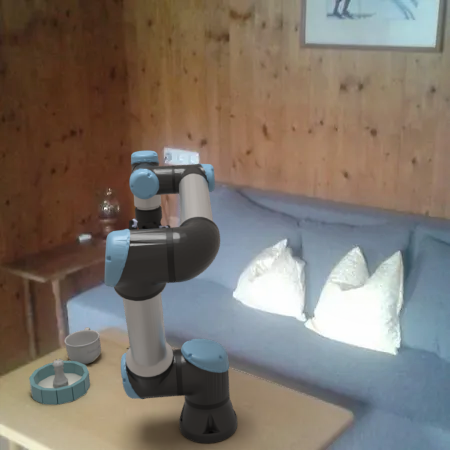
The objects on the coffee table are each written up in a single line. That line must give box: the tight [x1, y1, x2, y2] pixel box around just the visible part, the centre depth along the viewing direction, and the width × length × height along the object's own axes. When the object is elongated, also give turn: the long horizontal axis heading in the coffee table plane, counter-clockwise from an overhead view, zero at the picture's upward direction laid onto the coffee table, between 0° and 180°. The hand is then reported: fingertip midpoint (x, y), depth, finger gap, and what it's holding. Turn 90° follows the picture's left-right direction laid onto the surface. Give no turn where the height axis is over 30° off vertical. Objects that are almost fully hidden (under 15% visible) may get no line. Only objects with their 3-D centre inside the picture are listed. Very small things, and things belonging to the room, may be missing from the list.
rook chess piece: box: [52, 358, 68, 388], centre depth 192 cm, size 4×4×8 cm
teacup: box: [64, 327, 102, 365], centre depth 210 cm, size 14×11×8 cm
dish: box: [28, 360, 91, 406], centre depth 193 cm, size 16×16×4 cm
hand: (153, 276), depth 192 cm, fingers open, 13 cm apart
